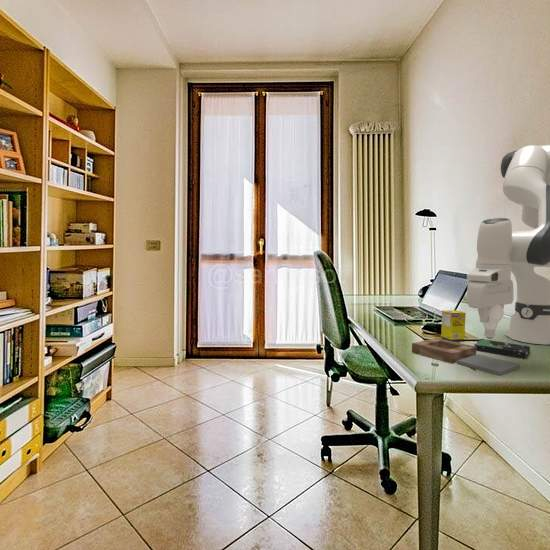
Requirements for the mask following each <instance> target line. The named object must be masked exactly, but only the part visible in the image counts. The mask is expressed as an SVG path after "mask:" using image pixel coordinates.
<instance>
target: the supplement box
mask: <svg viewBox="0 0 550 550" xmlns="http://www.w3.org/2000/svg"><path fill="white" fill-rule="evenodd" d="M466 314H467V313H466V312H464V311H459V310H456V309H452V310H450V309H447V310H444V309H443V310H441V327H440V328H441V330H440V331H441V335H440V338H441V337H443V338H444V340H449V341H453V342H465V337H466ZM443 338H442V339H443Z"/></svg>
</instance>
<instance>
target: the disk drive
mask: <svg viewBox="0 0 550 550" xmlns="http://www.w3.org/2000/svg"><path fill="white" fill-rule="evenodd" d="M473 346H475V347H477V350H476V352H481V353H487V354H494V355H498V356H505V357H511V358H516V359H521V358H522V359H521V360H526V358H527V357H528V356H529V355H530V353H531V346H529V345H523V344H516V343H512V342H511V343H510V342H504V341H499V340H497V341H496V340H491V339H486V338H485V339H483V338H480V339H479V340H477V342H476V343H474V345H473Z"/></svg>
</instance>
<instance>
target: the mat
mask: <svg viewBox="0 0 550 550" xmlns="http://www.w3.org/2000/svg"><path fill="white" fill-rule="evenodd" d="M456 364H457V365H460V366H464V367H468V368H471V369H475V370H479V371H483V372H486V373H489V372H490V374H493V373H494V375H497V374H498V376H502V375H504V373H505V374H507V373H510V372H512V371H514V369H515V370H517V369H520V368H519V367H521V364H520V363H516V362H512V361H507V360H503V359H500V358H495V357H491V356H487V355H483V354H479V353H476V355H473V356H470V357H467V358H464V359H460V360H457V362H456ZM509 371H510V372H509Z"/></svg>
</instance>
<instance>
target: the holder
mask: <svg viewBox="0 0 550 550" xmlns="http://www.w3.org/2000/svg"><path fill="white" fill-rule="evenodd" d="M476 350H477V347H475V346H474V345H470V344H465V343H461V342H458V341H449V340H446V339H443V338H441V337H440V338H439V337H434V338H429V339H425V340H421V341H420V340H419V341H417V342H412V343H411V353H414V354H417V355H420V356H425V357H428V358H431V359H434V360H439V361H443V362H446V363H449V364H454V363H457V360H460V359H464V358H467V357H470V356H473V355H477V351H476Z"/></svg>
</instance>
